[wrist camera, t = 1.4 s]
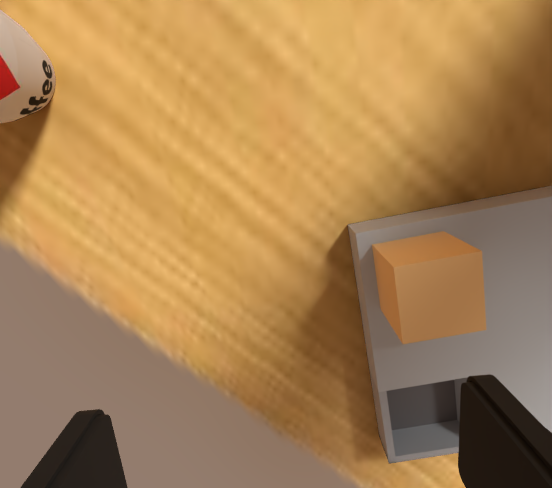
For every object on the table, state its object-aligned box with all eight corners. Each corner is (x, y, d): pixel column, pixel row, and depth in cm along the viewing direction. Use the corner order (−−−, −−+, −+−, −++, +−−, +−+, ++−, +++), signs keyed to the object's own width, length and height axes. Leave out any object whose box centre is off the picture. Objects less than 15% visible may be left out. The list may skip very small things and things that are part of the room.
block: (443, 231, 26) (481, 251, 21) (449, 296, 27) (486, 330, 22) (371, 244, 26) (393, 267, 21) (380, 309, 27) (402, 344, 23)
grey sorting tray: (669, 163, 28) (742, 166, 23) (652, 392, 33) (709, 430, 28) (347, 224, 29) (360, 238, 24) (379, 436, 34) (394, 479, 30)
